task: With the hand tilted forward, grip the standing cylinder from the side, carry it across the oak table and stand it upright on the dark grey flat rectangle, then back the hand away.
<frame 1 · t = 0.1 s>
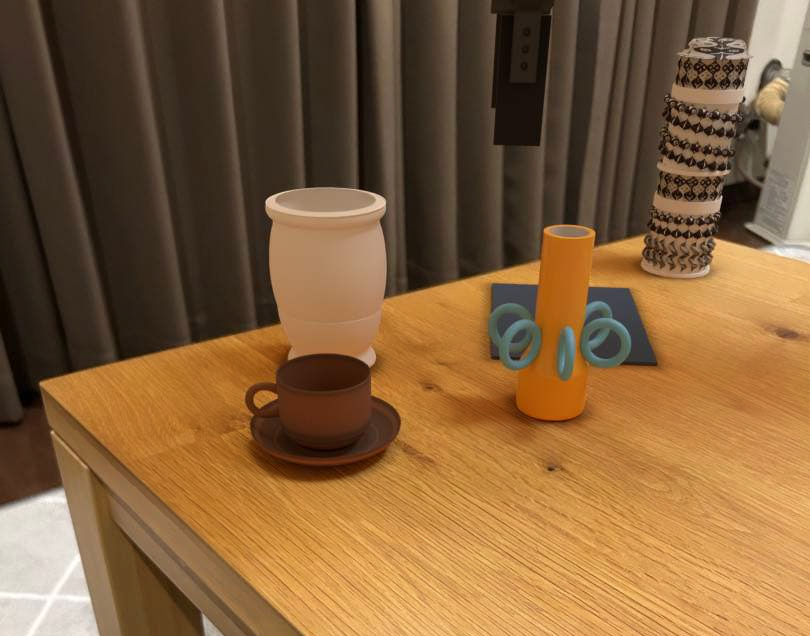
hand: (512, 125, 56), 24 cm above the table, tool pointing down, fingers open, 13 cm apart
cylinder: (549, 409, 76), on the table
jar: (332, 363, 84), on the table
cup and saucer: (326, 444, 70), on the table
decorative candle: (674, 269, 109), on the table
dark grey flat rectangle: (566, 321, 93), on the table
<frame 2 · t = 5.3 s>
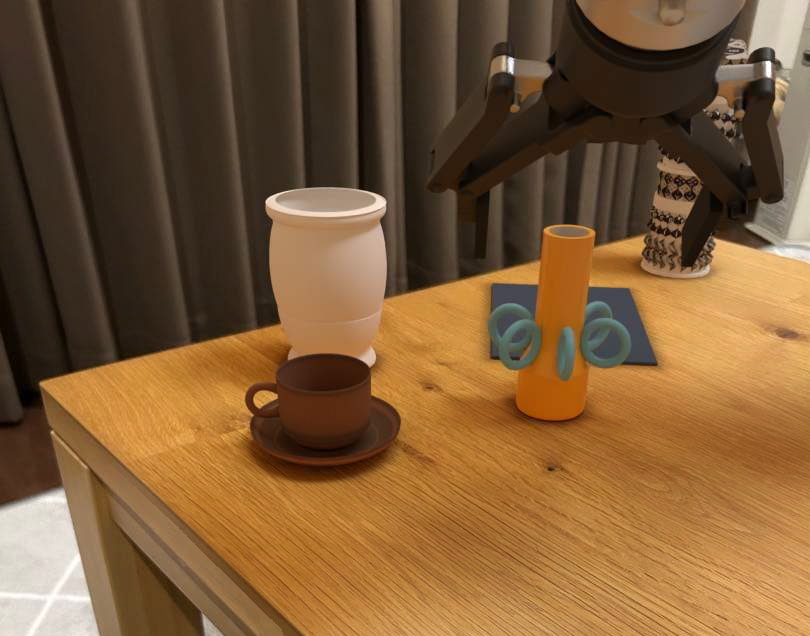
hand: (583, 244, 58), 17 cm above the table, tool tilted 45°, fingers open, 13 cm apart
nothing on the table moved.
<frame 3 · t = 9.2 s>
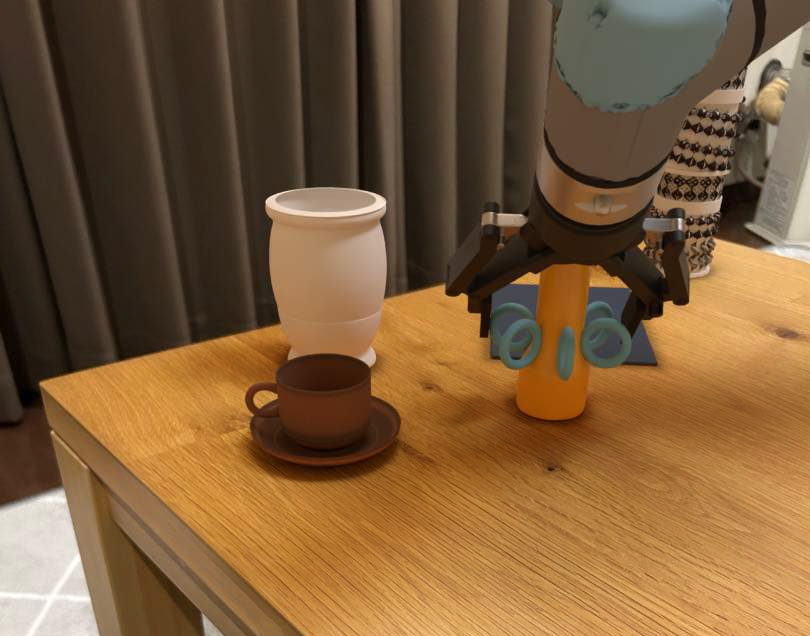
hand: (554, 326, 74), 6 cm above the table, tool tilted 45°, fingers closed on cylinder, 11 cm apart
cylinder: (550, 408, 76), on the table, touching gripper
everything else where it was.
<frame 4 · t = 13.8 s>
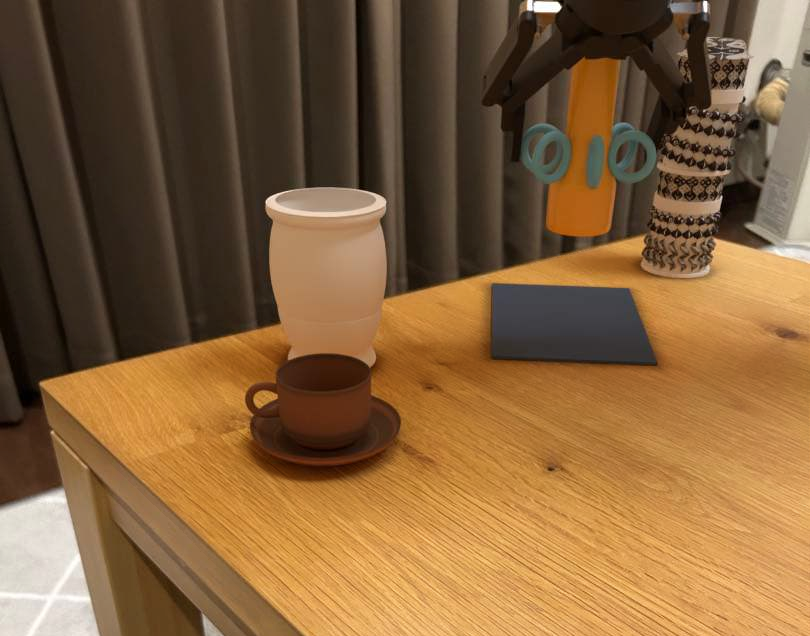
hand: (581, 150, 79), 18 cm above the table, tool tilted 45°, fingers closed on cylinder, 11 cm apart
cylinder: (577, 231, 80), point 11 cm above the table, touching gripper
everything else where it was.
when the fingers open (7 cm above the table, at t = 18.7 s): cylinder stays where it is, resting on dark grey flat rectangle.
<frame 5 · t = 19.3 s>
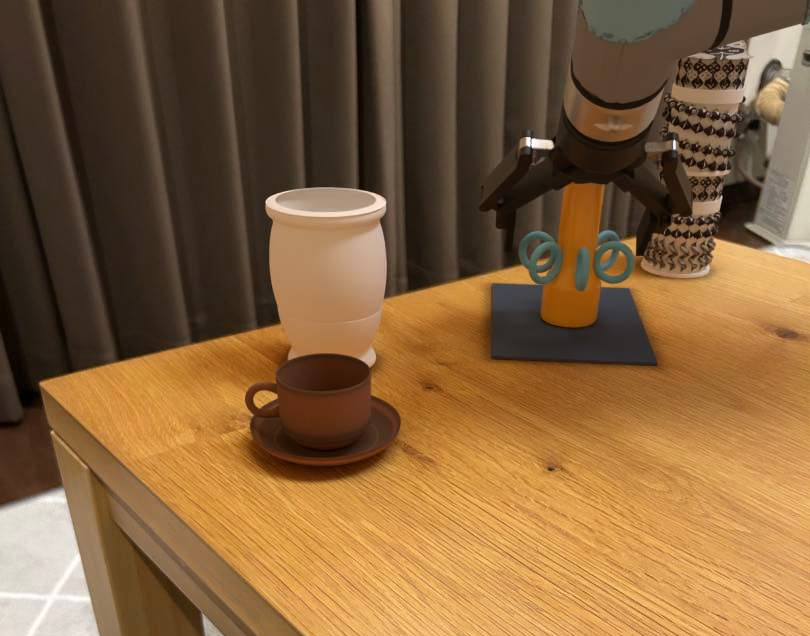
hand: (573, 242, 91), 8 cm above the table, tool tilted 45°, fingers open, 13 cm apart
cylinder: (568, 320, 93), resting on dark grey flat rectangle
everything else where it was.
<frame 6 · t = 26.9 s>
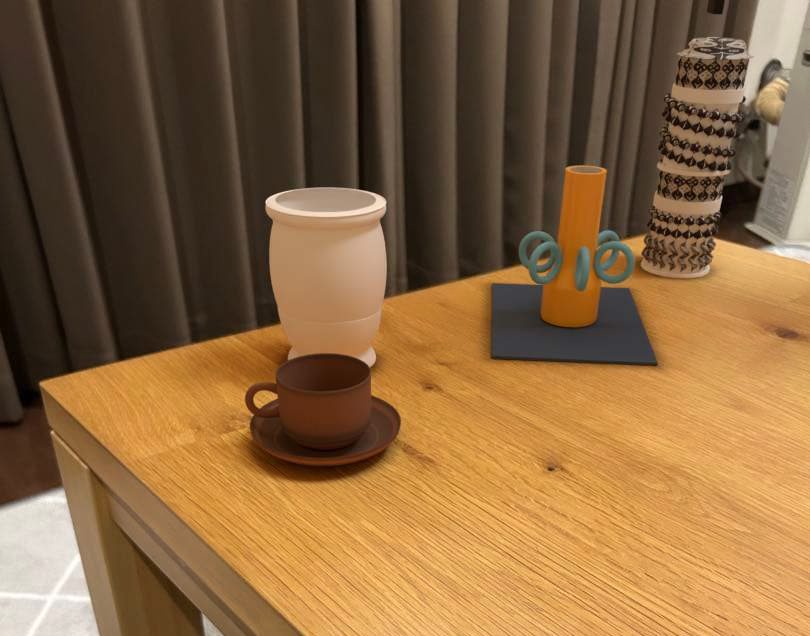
hand: (797, 15, 72), 29 cm above the table, tool pointing down, fingers open, 13 cm apart
nothing on the table moved.
at the end: cylinder inside the target area on the dark grey flat rectangle (0.1 cm from its centre), point 0.1 cm above the dark grey flat rectangle's base; cylinder tilted 0°; cylinder moved 21.4 cm from its start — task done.
